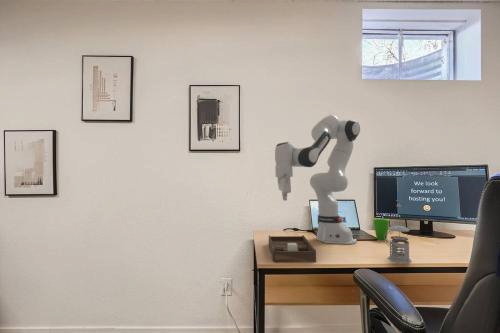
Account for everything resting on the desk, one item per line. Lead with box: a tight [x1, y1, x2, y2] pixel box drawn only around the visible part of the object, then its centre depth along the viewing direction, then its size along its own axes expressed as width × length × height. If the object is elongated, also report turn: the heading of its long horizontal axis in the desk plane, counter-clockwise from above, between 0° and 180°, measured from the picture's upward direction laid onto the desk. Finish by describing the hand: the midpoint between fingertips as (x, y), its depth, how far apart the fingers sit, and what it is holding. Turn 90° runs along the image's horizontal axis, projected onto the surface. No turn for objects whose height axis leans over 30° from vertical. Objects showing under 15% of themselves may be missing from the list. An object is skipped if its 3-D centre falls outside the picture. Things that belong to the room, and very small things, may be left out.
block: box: [287, 243, 297, 251], centre depth 133 cm, size 4×4×4 cm
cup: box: [372, 218, 390, 241], centre depth 169 cm, size 9×9×11 cm
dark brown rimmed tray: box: [268, 235, 317, 263], centre depth 142 cm, size 30×19×5 cm, turn 0°
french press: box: [384, 203, 413, 264], centre depth 131 cm, size 10×12×25 cm
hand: (284, 200), depth 149 cm, fingers closed
